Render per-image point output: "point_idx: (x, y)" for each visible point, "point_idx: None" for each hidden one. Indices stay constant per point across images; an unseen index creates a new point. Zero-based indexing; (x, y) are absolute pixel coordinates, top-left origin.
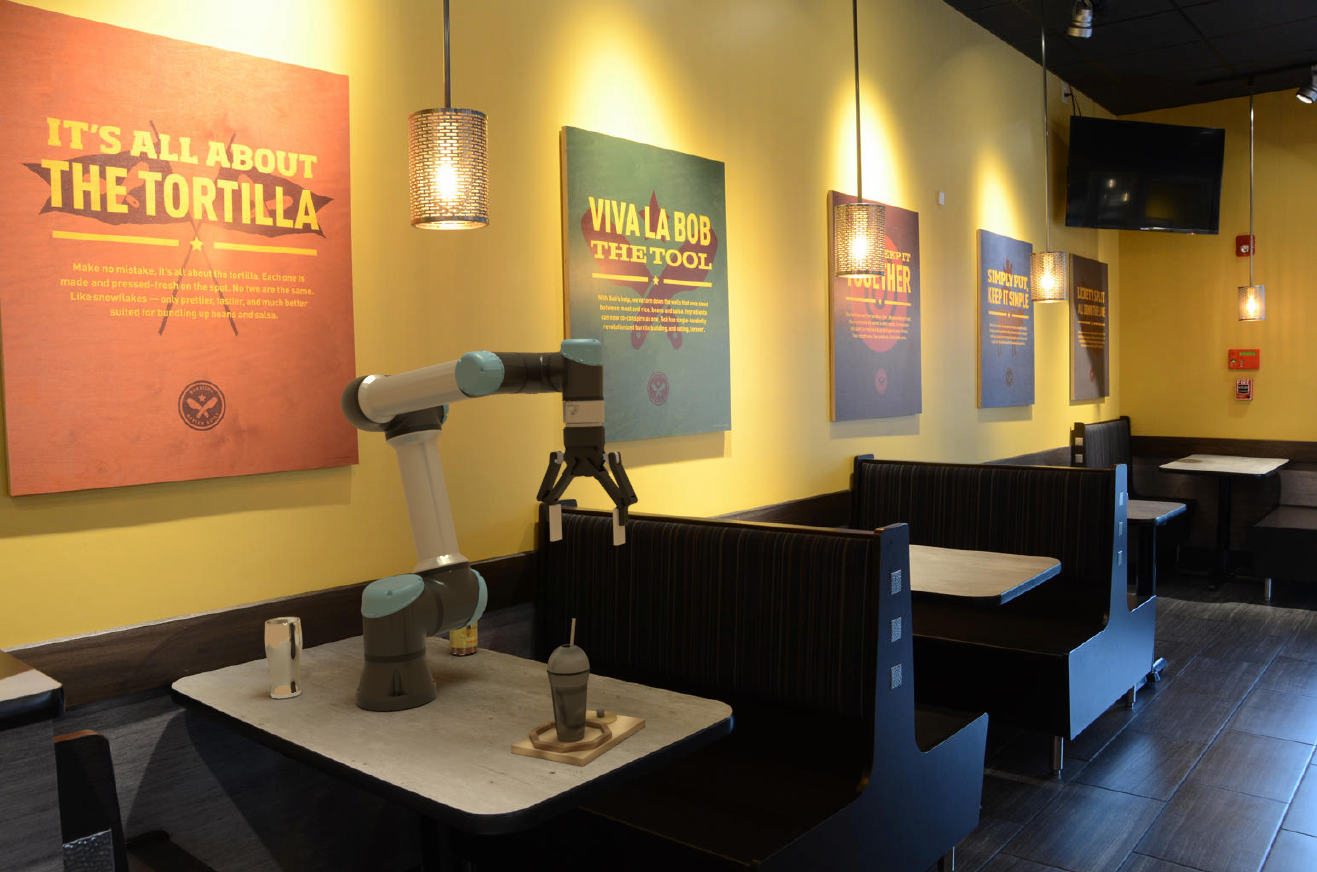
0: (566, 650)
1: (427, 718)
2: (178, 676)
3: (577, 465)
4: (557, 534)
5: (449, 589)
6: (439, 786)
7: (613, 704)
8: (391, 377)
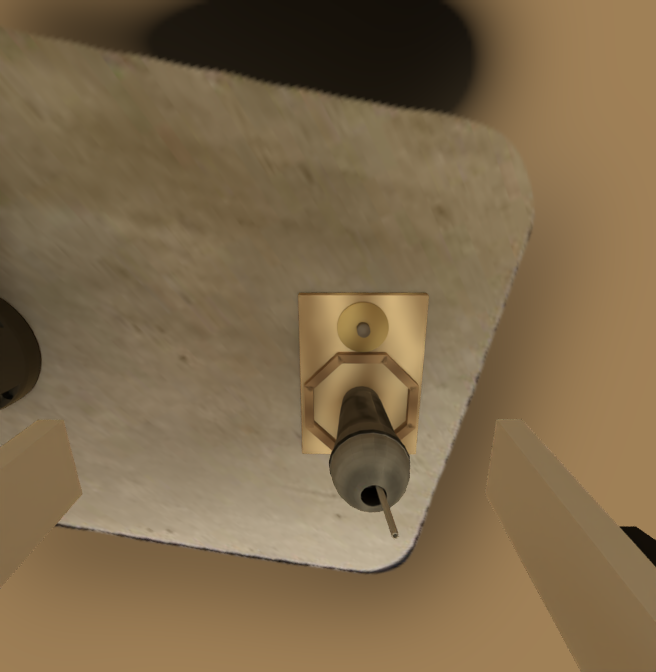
0: (382, 508)
1: (99, 395)
2: None
3: None
4: (50, 484)
5: None
6: (294, 543)
7: (323, 218)
8: None
